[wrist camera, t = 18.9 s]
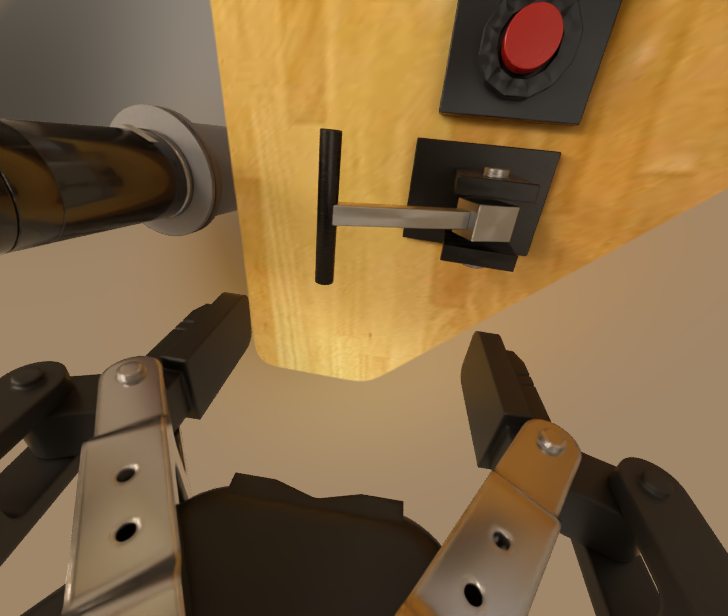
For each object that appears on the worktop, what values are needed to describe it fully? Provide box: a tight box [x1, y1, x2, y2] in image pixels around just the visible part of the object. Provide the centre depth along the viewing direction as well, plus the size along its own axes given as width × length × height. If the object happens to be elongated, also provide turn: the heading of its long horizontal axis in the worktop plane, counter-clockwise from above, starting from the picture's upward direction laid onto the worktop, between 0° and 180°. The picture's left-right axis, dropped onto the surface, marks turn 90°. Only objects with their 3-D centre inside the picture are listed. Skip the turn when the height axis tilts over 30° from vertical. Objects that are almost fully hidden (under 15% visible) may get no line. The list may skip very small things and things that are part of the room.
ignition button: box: [501, 2, 564, 74], centre depth 23 cm, size 4×4×2 cm
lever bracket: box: [403, 138, 561, 272], centre depth 25 cm, size 12×9×14 cm
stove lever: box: [315, 128, 520, 285], centre depth 19 cm, size 12×8×2 cm
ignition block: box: [439, 0, 622, 126], centre depth 24 cm, size 11×9×4 cm
